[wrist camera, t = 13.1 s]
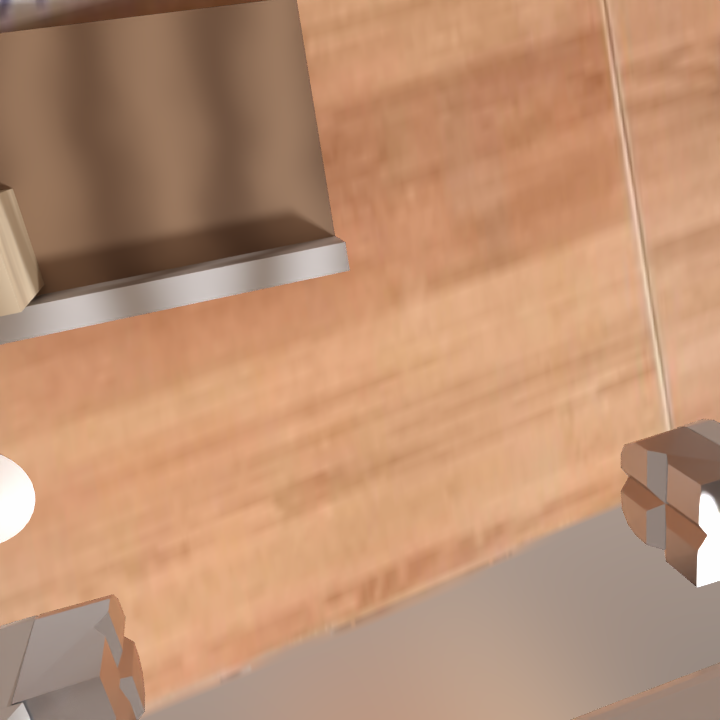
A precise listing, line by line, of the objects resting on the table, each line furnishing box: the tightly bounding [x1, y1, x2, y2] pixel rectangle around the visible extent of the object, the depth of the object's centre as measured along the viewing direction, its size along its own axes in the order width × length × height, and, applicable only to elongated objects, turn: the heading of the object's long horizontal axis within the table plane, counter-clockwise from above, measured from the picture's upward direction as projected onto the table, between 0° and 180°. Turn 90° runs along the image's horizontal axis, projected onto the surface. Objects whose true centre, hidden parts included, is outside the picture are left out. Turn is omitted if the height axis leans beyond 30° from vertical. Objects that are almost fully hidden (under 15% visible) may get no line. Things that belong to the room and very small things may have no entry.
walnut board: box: [0, 0, 350, 344], centre depth 34 cm, size 22×14×4 cm, turn 98°
